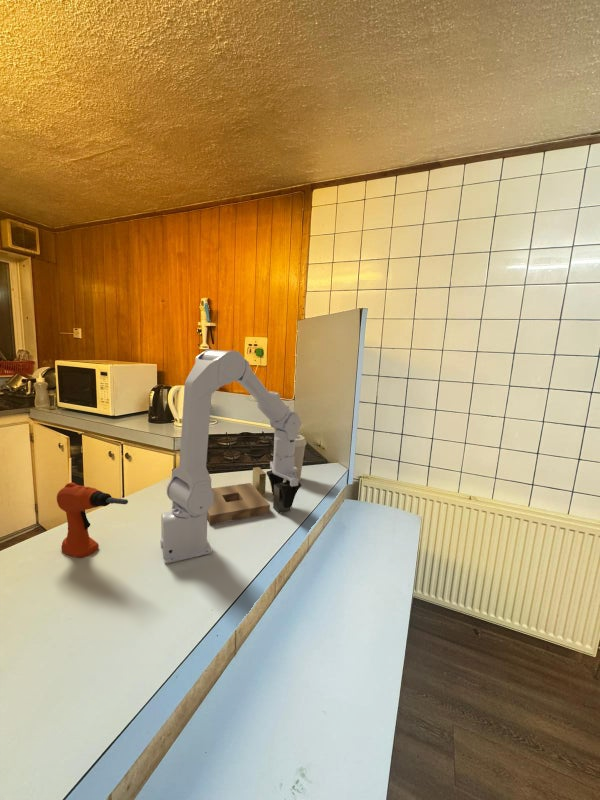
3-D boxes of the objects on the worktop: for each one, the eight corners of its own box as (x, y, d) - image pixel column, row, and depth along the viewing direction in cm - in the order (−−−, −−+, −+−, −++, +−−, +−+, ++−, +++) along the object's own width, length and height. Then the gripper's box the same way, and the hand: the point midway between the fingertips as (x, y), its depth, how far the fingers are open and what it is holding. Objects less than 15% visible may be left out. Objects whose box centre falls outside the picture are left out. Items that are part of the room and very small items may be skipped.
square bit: (278, 513, 90) (279, 489, 89) (273, 507, 93) (274, 484, 92) (290, 511, 92) (291, 487, 91) (284, 505, 95) (285, 482, 94)
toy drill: (124, 568, 63) (114, 492, 61) (56, 555, 69) (45, 485, 68) (144, 554, 67) (135, 482, 66) (78, 543, 74) (69, 477, 72)
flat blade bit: (258, 496, 100) (259, 474, 99) (252, 488, 105) (253, 467, 104) (265, 495, 101) (265, 473, 100) (258, 488, 106) (259, 467, 105)
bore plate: (209, 525, 82) (209, 515, 82) (197, 498, 96) (197, 490, 96) (269, 513, 90) (269, 504, 89) (250, 490, 104) (250, 482, 103)
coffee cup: (302, 486, 109) (304, 441, 107) (274, 482, 111) (276, 439, 108) (306, 475, 118) (308, 434, 116) (280, 472, 120) (282, 432, 118)
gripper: (309, 460, 86) (307, 510, 88) (286, 445, 98) (284, 488, 100) (285, 463, 82) (282, 515, 84) (263, 447, 95) (262, 492, 97)
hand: (281, 501), depth 92 cm, fingers open, 7 cm apart
